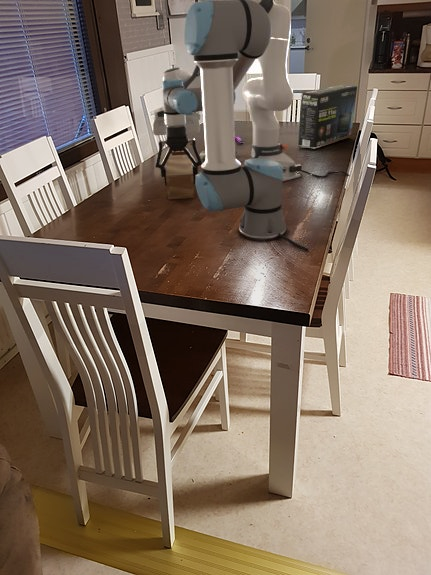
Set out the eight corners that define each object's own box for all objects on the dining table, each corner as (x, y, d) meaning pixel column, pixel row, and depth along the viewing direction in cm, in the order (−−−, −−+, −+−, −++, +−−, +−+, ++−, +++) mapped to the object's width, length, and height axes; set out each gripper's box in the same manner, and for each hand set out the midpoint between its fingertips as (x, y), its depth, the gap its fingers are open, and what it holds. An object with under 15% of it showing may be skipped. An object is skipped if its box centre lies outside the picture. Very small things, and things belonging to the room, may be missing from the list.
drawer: (169, 164, 206) (168, 146, 202) (190, 163, 207) (189, 145, 202) (169, 187, 186) (167, 168, 181) (192, 186, 186) (190, 167, 182)
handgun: (222, 137, 264) (222, 134, 263) (235, 136, 265) (235, 132, 264) (230, 145, 246) (230, 142, 245) (244, 144, 247) (244, 140, 246)
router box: (314, 151, 231) (318, 94, 217) (296, 148, 237) (299, 92, 224) (352, 138, 251) (358, 85, 238) (335, 135, 258) (340, 83, 245)
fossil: (226, 156, 214) (204, 136, 217) (214, 175, 220) (193, 155, 224) (245, 154, 228) (224, 134, 231) (233, 171, 234) (214, 152, 237)
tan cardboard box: (168, 178, 196) (166, 155, 190) (192, 177, 197) (191, 154, 191) (168, 199, 179) (165, 175, 173) (194, 197, 180) (193, 174, 174)
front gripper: (206, 121, 171) (208, 178, 183) (144, 124, 170) (151, 182, 182) (207, 125, 165) (210, 185, 177) (143, 129, 164) (150, 188, 175)
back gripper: (199, 108, 195) (201, 141, 202) (151, 110, 193) (154, 144, 201) (200, 111, 189) (202, 145, 196) (150, 113, 188) (154, 147, 195)
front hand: (180, 183), depth 179 cm, fingers closed on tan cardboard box, 10 cm apart
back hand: (177, 144), depth 198 cm, fingers closed
